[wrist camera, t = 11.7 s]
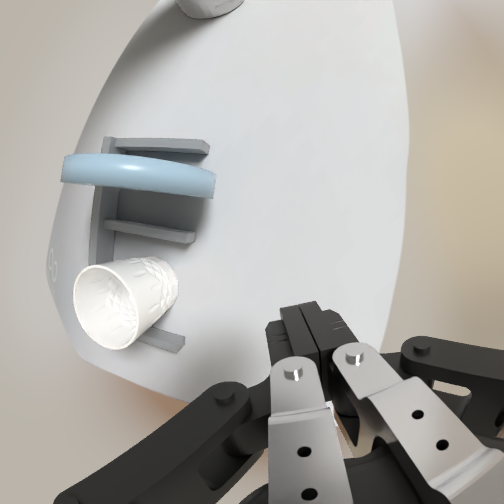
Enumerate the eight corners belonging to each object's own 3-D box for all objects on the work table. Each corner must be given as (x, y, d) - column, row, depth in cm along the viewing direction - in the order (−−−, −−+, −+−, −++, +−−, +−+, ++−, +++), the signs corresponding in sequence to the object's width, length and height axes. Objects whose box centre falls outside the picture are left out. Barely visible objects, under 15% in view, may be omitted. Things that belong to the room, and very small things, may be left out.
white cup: (122, 300, 32) (71, 326, 22) (133, 241, 31) (76, 252, 21) (175, 325, 31) (132, 364, 22) (191, 264, 30) (145, 285, 20)
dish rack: (238, 148, 28) (189, 94, 14) (209, 350, 31) (158, 426, 17) (120, 142, 30) (36, 115, 16) (105, 317, 33) (31, 358, 19)
